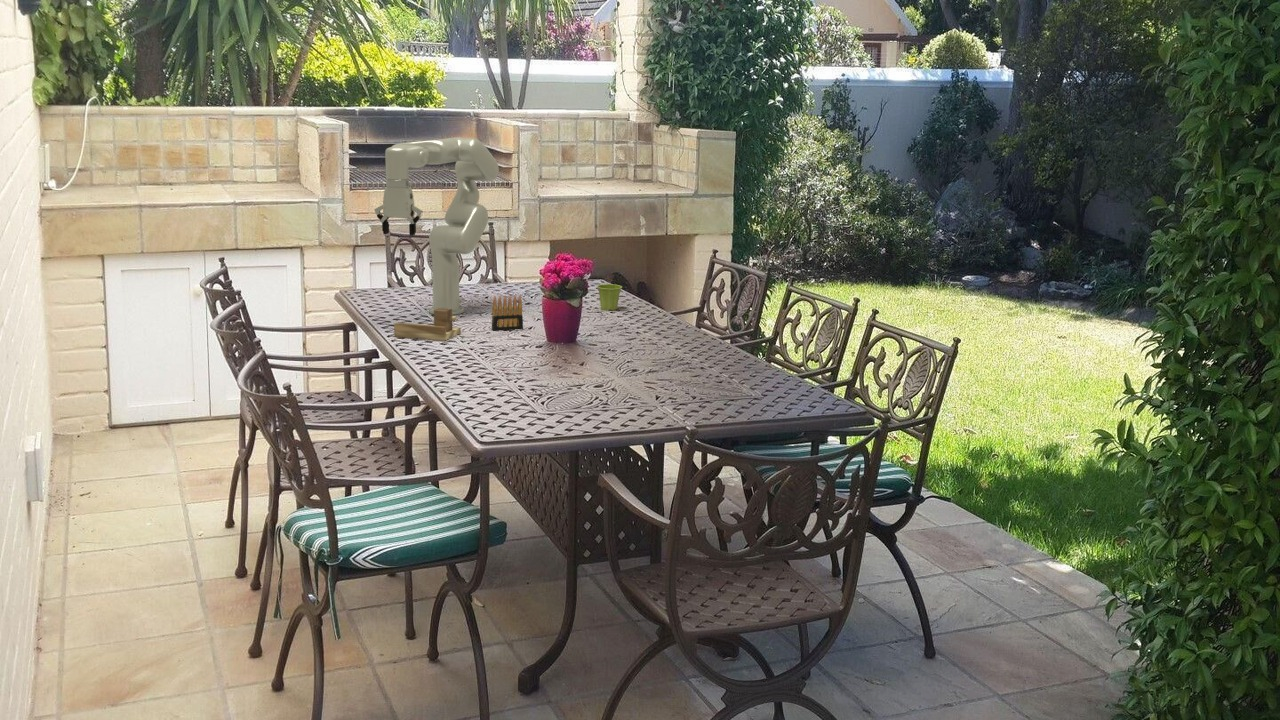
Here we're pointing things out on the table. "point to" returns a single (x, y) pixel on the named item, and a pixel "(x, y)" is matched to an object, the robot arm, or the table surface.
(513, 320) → the ammunition clip
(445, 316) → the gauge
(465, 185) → the robot arm
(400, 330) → the board
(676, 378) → the table surface
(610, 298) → the plant pot
